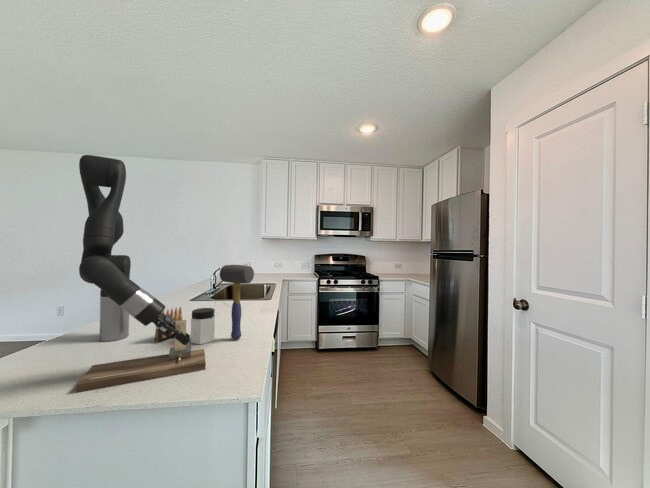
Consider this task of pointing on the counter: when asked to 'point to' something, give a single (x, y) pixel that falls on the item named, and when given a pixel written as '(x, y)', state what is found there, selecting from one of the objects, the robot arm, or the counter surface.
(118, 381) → the walnut board
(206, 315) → the jar
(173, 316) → the ammunition clip
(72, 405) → the counter surface
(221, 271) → the rubber mallet
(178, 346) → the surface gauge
